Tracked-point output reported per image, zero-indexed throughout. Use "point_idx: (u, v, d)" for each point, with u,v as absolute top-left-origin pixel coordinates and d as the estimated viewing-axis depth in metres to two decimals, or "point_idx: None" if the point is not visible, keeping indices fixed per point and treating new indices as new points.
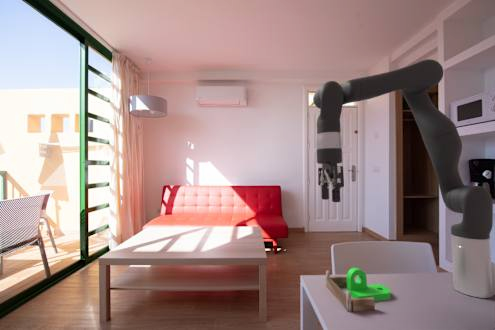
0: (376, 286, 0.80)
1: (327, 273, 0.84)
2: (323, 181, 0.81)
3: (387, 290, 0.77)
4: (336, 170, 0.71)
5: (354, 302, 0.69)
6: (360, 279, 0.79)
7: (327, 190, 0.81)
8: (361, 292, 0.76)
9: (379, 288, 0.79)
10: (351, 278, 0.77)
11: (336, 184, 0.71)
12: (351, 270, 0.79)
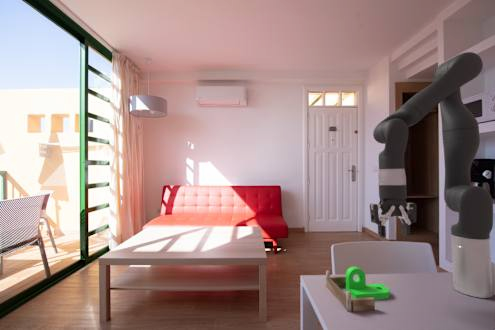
0: (376, 285, 0.80)
1: (327, 273, 0.84)
2: None
3: (386, 290, 0.77)
4: None
5: (354, 302, 0.69)
6: (359, 278, 0.80)
7: None
8: (359, 291, 0.76)
9: (379, 288, 0.79)
10: (349, 277, 0.78)
11: None
12: (350, 269, 0.80)
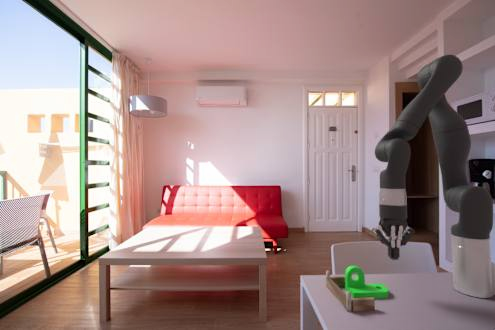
0: (375, 285, 0.80)
1: (327, 273, 0.84)
2: None
3: (385, 289, 0.77)
4: None
5: (354, 302, 0.69)
6: (358, 277, 0.81)
7: None
8: (358, 289, 0.77)
9: (378, 287, 0.80)
10: (348, 275, 0.80)
11: None
12: (349, 267, 0.81)
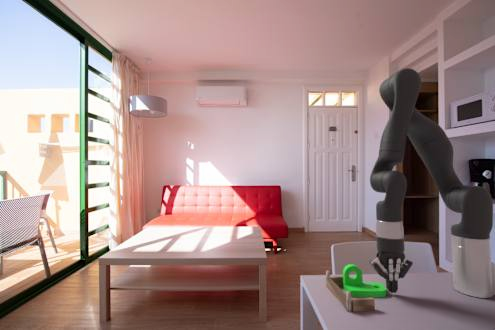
0: (374, 284, 0.81)
1: (327, 273, 0.84)
2: None
3: (383, 288, 0.78)
4: None
5: (354, 302, 0.69)
6: (356, 275, 0.82)
7: None
8: (354, 288, 0.79)
9: (376, 286, 0.80)
10: (345, 274, 0.81)
11: None
12: (347, 266, 0.82)
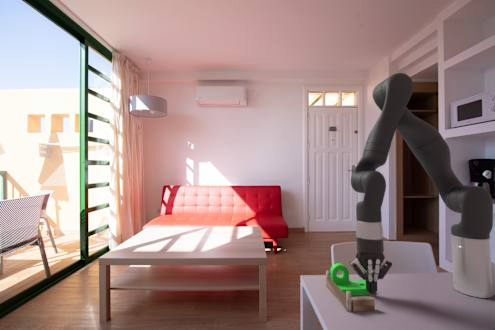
0: (359, 282, 0.83)
1: (327, 273, 0.84)
2: None
3: None
4: None
5: (354, 302, 0.69)
6: (343, 274, 0.83)
7: None
8: (342, 286, 0.80)
9: (362, 284, 0.82)
10: (333, 273, 0.82)
11: None
12: (334, 265, 0.83)
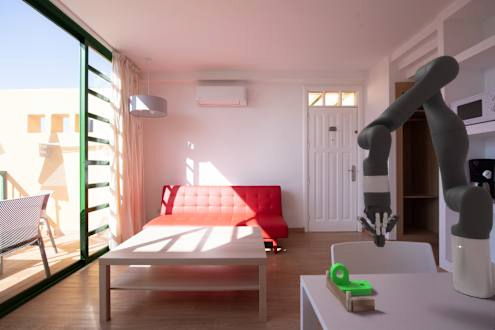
0: (359, 282, 0.83)
1: (327, 273, 0.84)
2: None
3: (368, 286, 0.80)
4: None
5: (354, 302, 0.69)
6: (343, 274, 0.83)
7: None
8: (342, 287, 0.79)
9: (362, 284, 0.82)
10: (333, 273, 0.82)
11: None
12: (334, 265, 0.83)
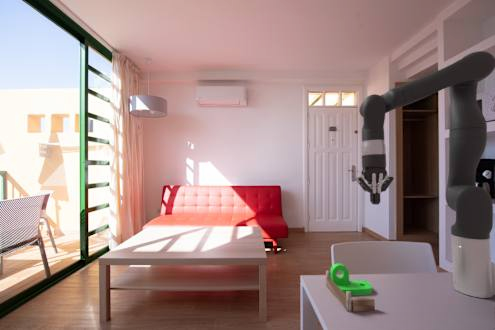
0: (359, 282, 0.83)
1: (327, 273, 0.84)
2: None
3: (369, 286, 0.80)
4: None
5: (354, 302, 0.69)
6: (343, 274, 0.83)
7: None
8: (342, 287, 0.80)
9: (362, 284, 0.82)
10: (333, 273, 0.82)
11: None
12: (334, 265, 0.83)
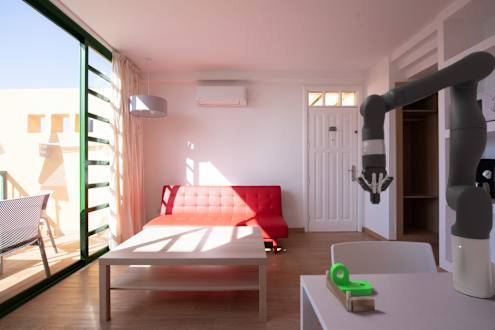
0: (360, 282, 0.83)
1: (327, 273, 0.84)
2: None
3: (369, 286, 0.80)
4: None
5: (354, 302, 0.69)
6: (343, 274, 0.83)
7: None
8: (342, 287, 0.79)
9: (362, 284, 0.82)
10: (333, 273, 0.82)
11: None
12: (334, 265, 0.83)
